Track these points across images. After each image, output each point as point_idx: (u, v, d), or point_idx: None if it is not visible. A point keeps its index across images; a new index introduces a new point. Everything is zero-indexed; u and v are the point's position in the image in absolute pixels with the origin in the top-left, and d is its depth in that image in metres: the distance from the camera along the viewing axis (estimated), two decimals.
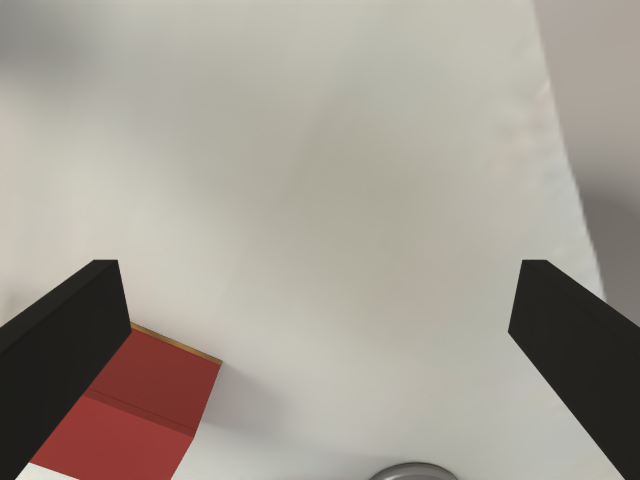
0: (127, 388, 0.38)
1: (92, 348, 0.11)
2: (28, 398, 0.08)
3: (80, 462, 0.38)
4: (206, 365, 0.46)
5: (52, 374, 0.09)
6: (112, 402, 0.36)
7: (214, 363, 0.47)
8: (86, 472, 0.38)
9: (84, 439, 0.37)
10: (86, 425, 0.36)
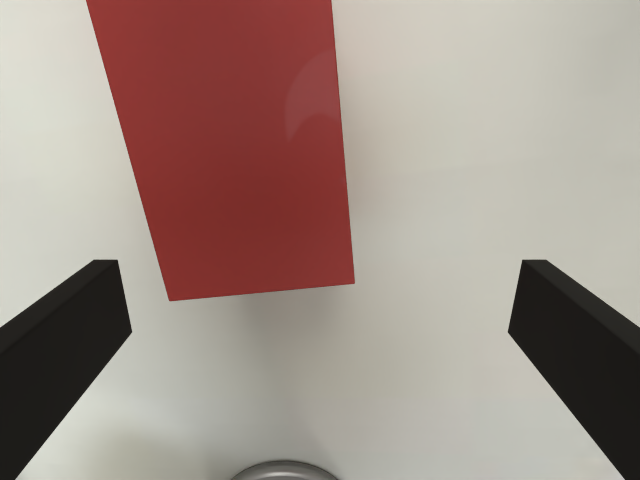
0: None
1: (92, 348, 0.11)
2: (28, 398, 0.08)
3: (175, 143, 0.19)
4: None
5: (52, 374, 0.09)
6: None
7: None
8: (158, 164, 0.19)
9: (235, 125, 0.19)
10: (271, 114, 0.19)
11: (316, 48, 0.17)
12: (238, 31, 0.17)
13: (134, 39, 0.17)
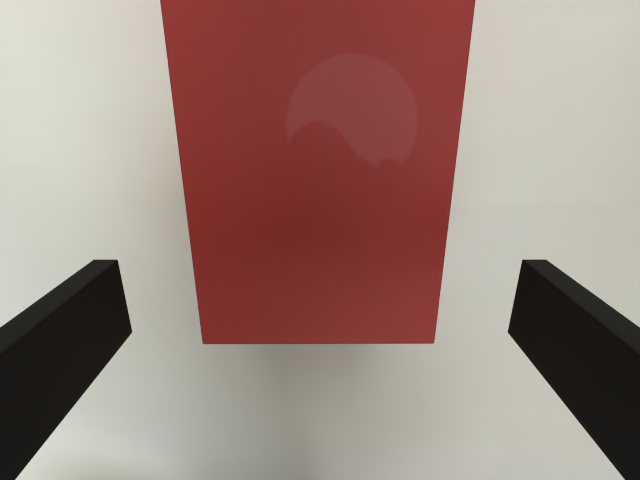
0: None
1: (92, 348, 0.11)
2: (28, 398, 0.08)
3: (242, 153, 0.15)
4: None
5: (52, 374, 0.09)
6: None
7: None
8: (217, 177, 0.15)
9: (323, 139, 0.15)
10: (372, 130, 0.14)
11: (445, 54, 0.14)
12: (350, 20, 0.13)
13: (212, 14, 0.13)
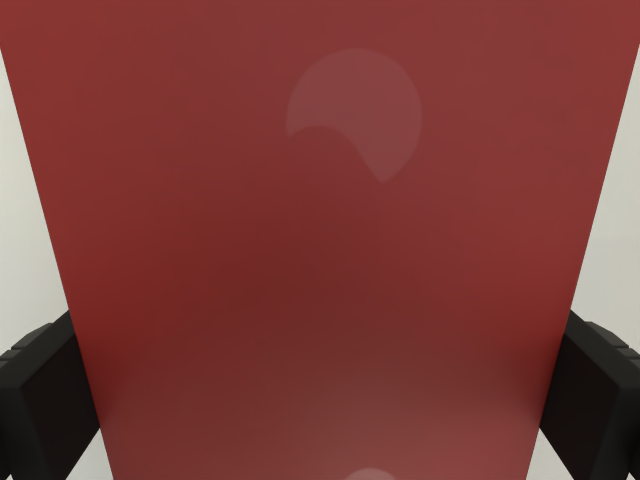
0: None
1: None
2: None
3: (167, 200, 0.07)
4: None
5: None
6: None
7: None
8: (119, 245, 0.08)
9: (330, 172, 0.07)
10: (430, 154, 0.07)
11: None
12: None
13: None
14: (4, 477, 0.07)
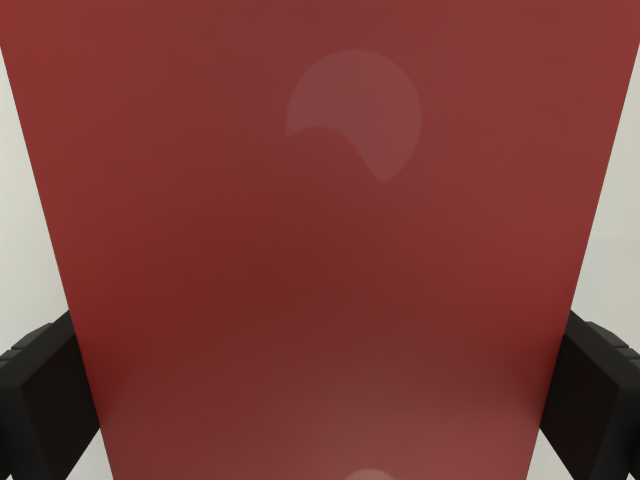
0: None
1: None
2: None
3: (167, 200, 0.07)
4: None
5: None
6: None
7: None
8: (120, 244, 0.08)
9: (330, 172, 0.07)
10: (430, 154, 0.07)
11: None
12: None
13: None
14: (5, 477, 0.07)
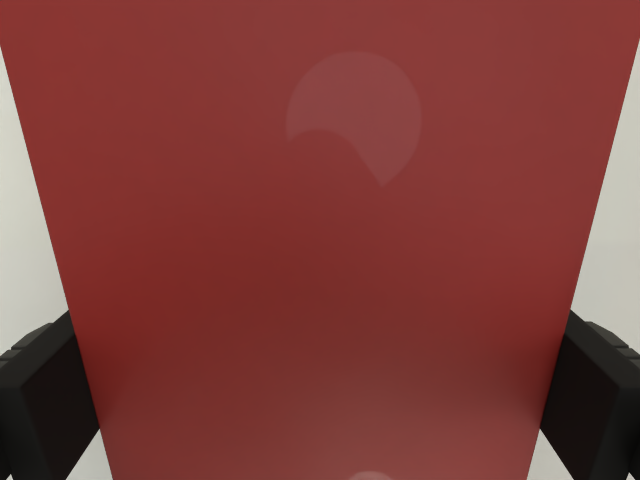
0: None
1: None
2: None
3: (167, 199, 0.07)
4: None
5: None
6: None
7: None
8: (119, 243, 0.08)
9: (329, 171, 0.07)
10: (430, 153, 0.07)
11: None
12: None
13: None
14: (5, 477, 0.07)
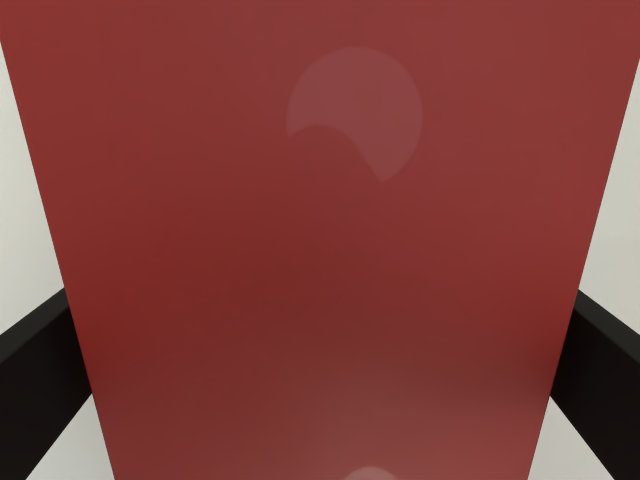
0: None
1: None
2: (44, 392, 0.09)
3: (165, 176, 0.07)
4: None
5: (66, 369, 0.09)
6: None
7: None
8: (117, 223, 0.07)
9: (332, 148, 0.07)
10: (435, 129, 0.07)
11: None
12: None
13: None
14: None
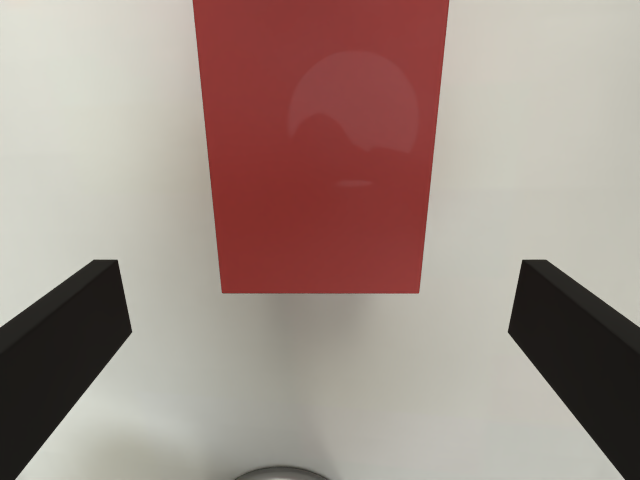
0: None
1: (92, 348, 0.11)
2: (28, 398, 0.08)
3: (258, 127, 0.18)
4: None
5: (52, 374, 0.09)
6: None
7: None
8: (236, 147, 0.18)
9: (325, 116, 0.18)
10: (365, 108, 0.17)
11: (425, 44, 0.17)
12: (347, 16, 0.16)
13: (234, 11, 0.16)
14: None
